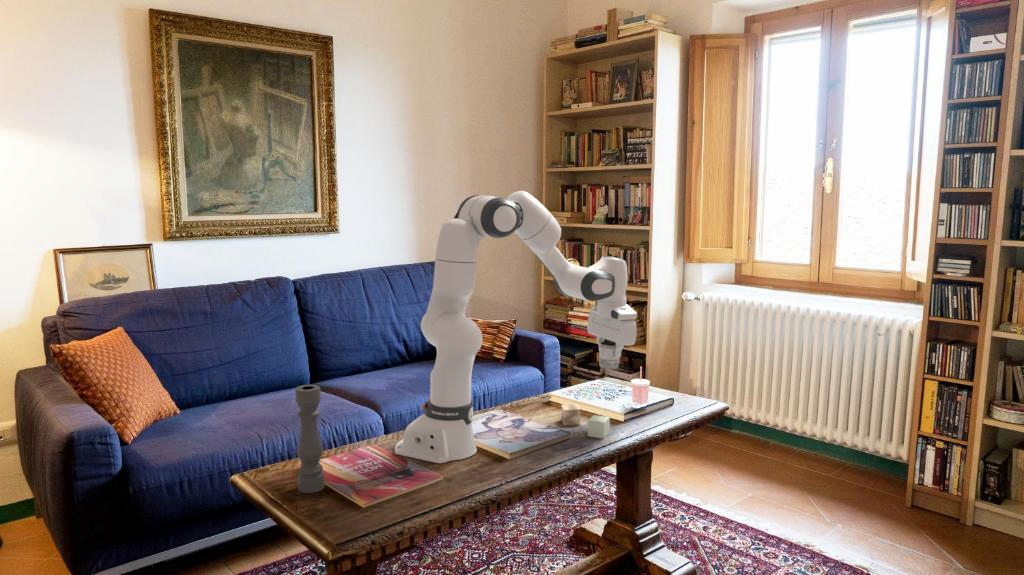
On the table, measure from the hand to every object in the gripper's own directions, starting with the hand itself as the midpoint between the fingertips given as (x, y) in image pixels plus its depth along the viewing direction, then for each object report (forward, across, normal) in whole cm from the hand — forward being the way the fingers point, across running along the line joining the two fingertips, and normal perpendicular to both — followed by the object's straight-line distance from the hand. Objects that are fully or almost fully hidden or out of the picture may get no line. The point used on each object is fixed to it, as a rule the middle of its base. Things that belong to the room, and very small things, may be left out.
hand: (609, 353), depth 221 cm
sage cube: (+22, +8, -9) cm, 25 cm away
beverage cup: (+22, -6, +18) cm, 29 cm away
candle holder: (+23, +5, -92) cm, 95 cm away
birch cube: (+22, -5, -10) cm, 25 cm away
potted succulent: (+4, 0, 0) cm, 4 cm away
